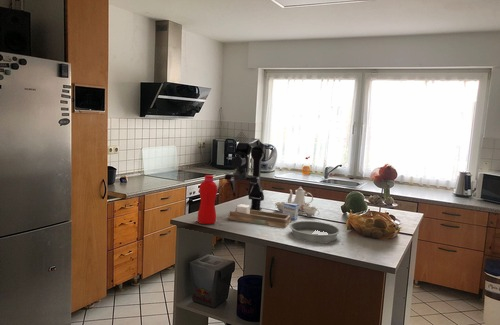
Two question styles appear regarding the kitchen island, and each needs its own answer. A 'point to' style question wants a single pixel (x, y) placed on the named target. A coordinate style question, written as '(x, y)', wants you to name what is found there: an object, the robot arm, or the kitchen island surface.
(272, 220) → the light wood shallow tray
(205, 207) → the water bottle
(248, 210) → the cream block
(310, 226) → the cake pan
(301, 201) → the chinaware
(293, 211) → the medicine box
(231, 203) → the kitchen island surface
